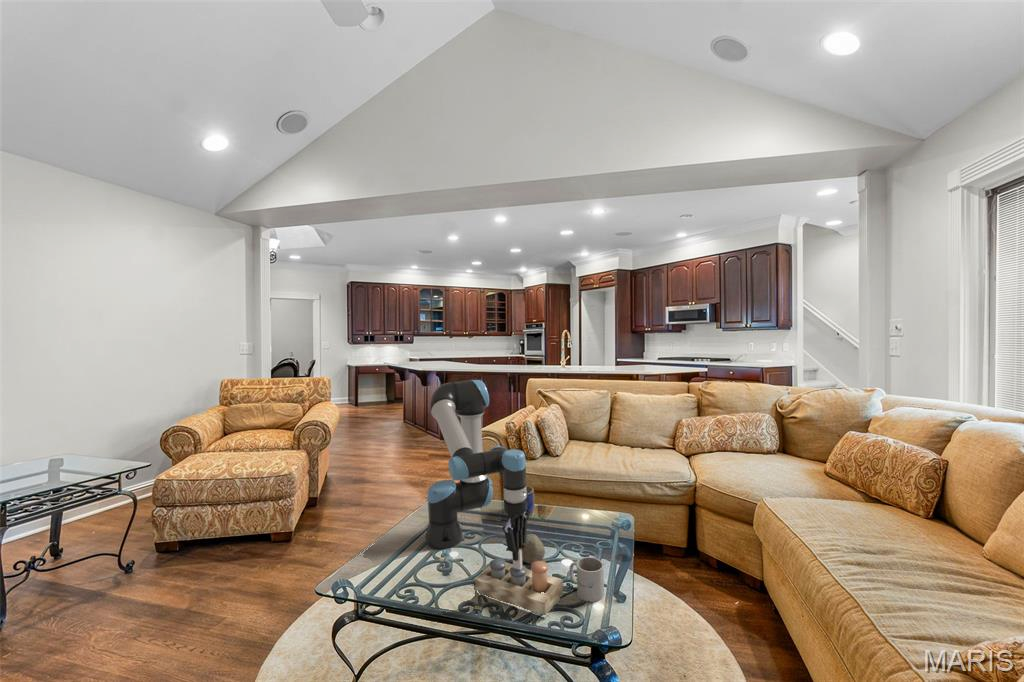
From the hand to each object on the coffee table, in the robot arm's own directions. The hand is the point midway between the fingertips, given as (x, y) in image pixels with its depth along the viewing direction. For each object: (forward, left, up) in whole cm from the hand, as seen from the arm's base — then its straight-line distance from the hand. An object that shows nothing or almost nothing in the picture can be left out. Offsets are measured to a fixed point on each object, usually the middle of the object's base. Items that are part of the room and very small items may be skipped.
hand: (517, 567), depth 148 cm
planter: (-27, +50, -9) cm, 58 cm away
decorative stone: (-5, +18, -9) cm, 21 cm away
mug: (+19, +12, -9) cm, 24 cm away
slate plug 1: (-8, 0, -8) cm, 11 cm away
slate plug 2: (0, 0, -8) cm, 8 cm away
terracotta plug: (+8, 0, -4) cm, 9 cm away
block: (0, 0, -9) cm, 9 cm away
